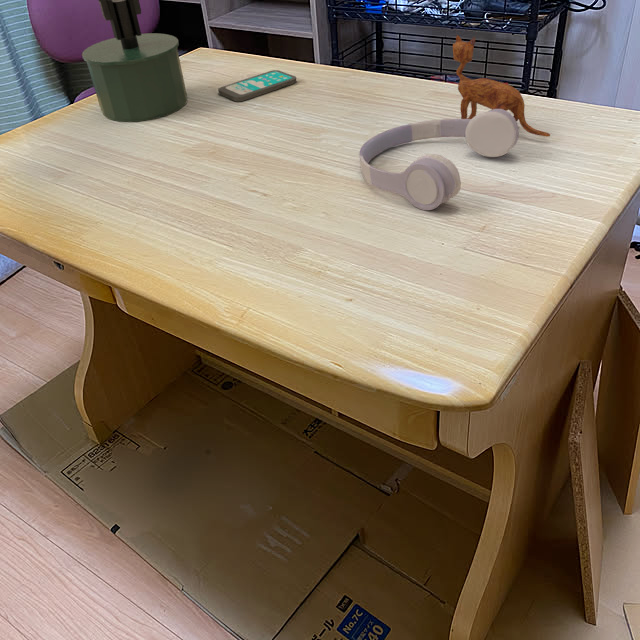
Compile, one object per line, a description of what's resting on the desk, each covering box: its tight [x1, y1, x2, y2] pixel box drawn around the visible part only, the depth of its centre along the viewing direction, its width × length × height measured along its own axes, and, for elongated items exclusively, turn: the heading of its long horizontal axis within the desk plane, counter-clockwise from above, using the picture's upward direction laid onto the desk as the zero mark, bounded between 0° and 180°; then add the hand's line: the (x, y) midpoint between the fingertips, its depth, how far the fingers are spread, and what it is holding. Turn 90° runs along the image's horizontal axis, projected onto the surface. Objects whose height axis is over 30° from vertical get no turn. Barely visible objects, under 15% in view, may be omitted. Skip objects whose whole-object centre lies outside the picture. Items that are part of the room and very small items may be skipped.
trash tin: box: [86, 47, 188, 123], centre depth 120 cm, size 17×17×10 cm
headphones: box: [358, 109, 520, 211], centre depth 92 cm, size 22×7×20 cm
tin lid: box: [81, 0, 180, 65], centre depth 114 cm, size 18×18×9 cm
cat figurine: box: [452, 34, 551, 138], centre depth 98 cm, size 18×7×14 cm, turn 50°
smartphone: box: [217, 69, 298, 102], centre depth 126 cm, size 9×1×15 cm
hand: (127, 35), depth 115 cm, fingers closed on tin lid, 3 cm apart
